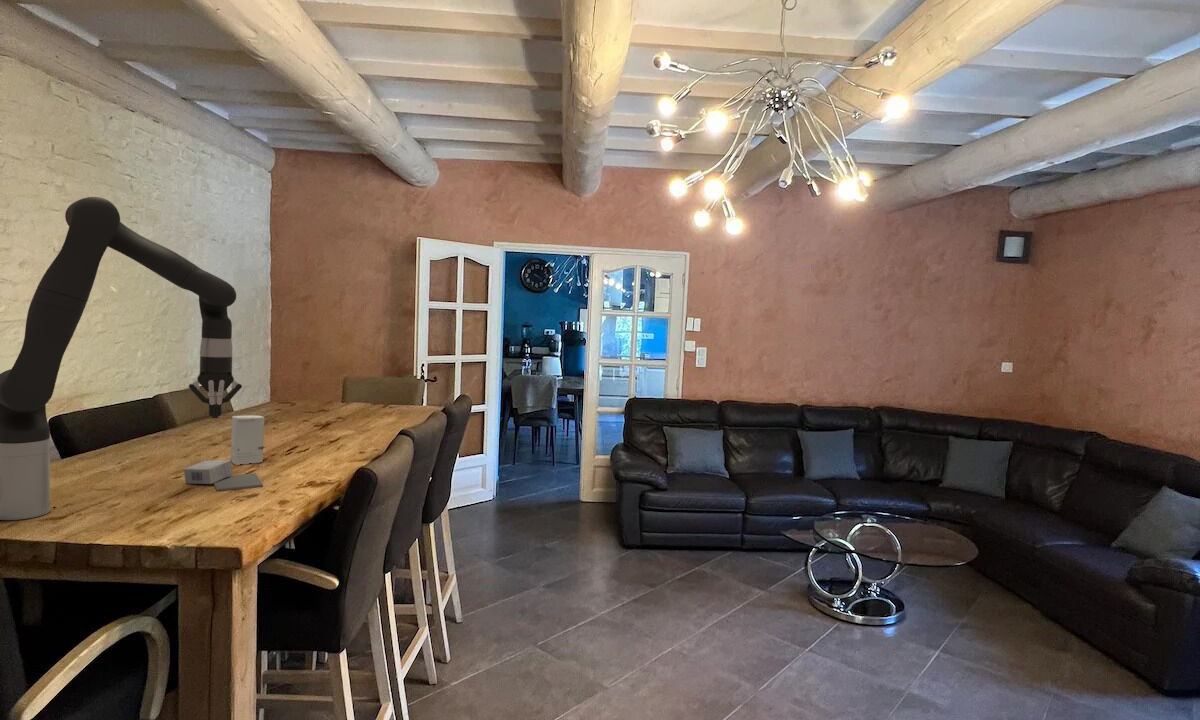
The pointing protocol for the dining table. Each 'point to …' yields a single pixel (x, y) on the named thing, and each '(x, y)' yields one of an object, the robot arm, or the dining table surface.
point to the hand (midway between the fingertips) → (214, 417)
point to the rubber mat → (238, 482)
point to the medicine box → (208, 472)
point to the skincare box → (247, 439)
